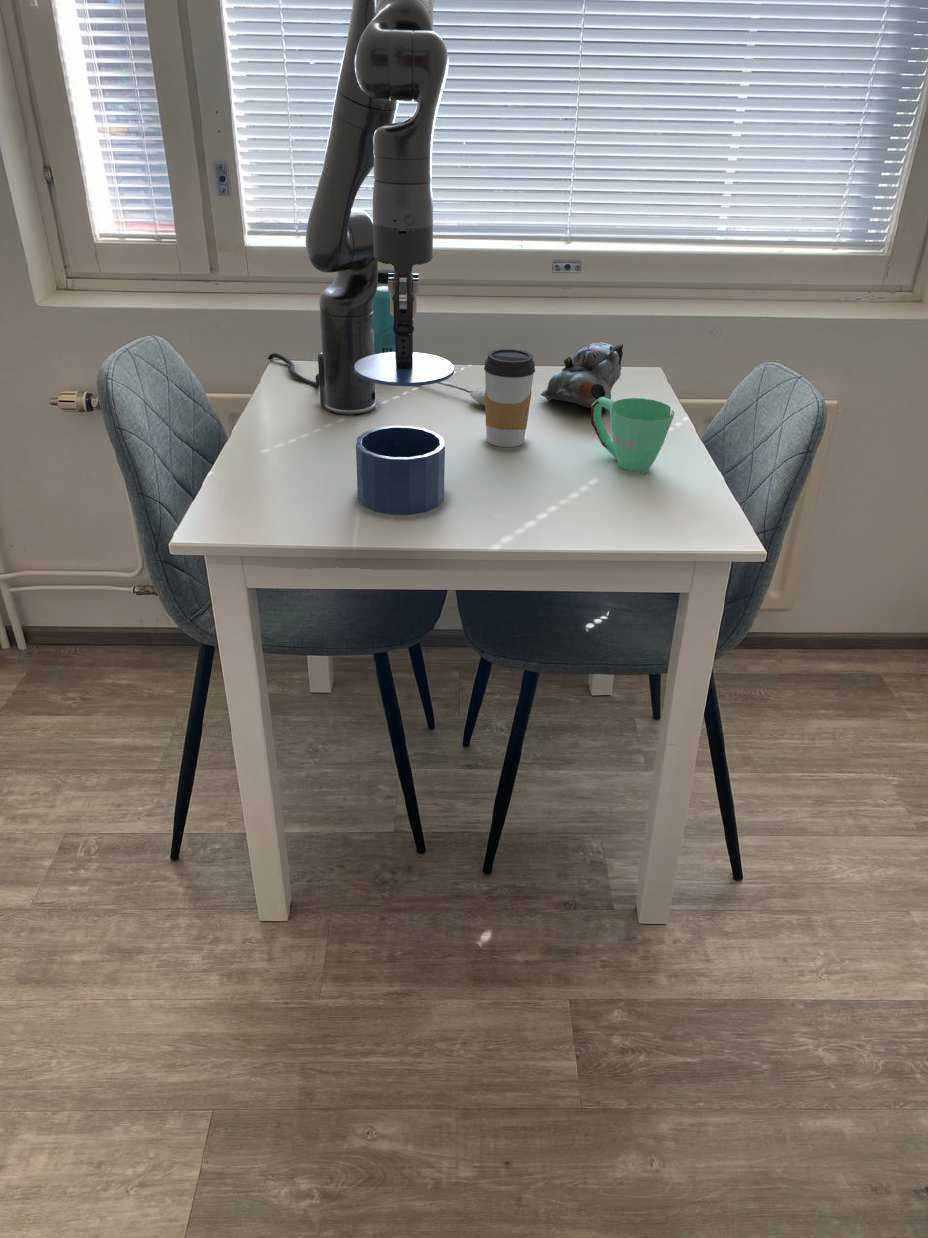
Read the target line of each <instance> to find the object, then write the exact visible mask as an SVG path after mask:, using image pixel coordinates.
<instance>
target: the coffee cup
mask: <svg viewBox="0 0 928 1238" xmlns="http://www.w3.org/2000/svg"><path fill="white" fill-rule="evenodd" d="M483 371H484V373H485V374H484V375H485V376H484V377H485V378H484V379H485V381H484V383H485V387H484V388H485V406H484V408H485V410H484V411H485V429H486V430H485V433H486V435H485V436H486V442H488V443H489V444H490V445H492V446H495V447H500V448H514V447H519V446H522V445H523V444H524V442H525V436H526V430H527V427H528V421H529V420H528V419H529V413H530V406H531V400H532V399H531V398H532V388H533V380H534V374H535V373H536V363H535V360H534V355H533V354H532V353H531V352H529V351H526V350H522V349H518V348H517V349H516V348H499V349H498V348H497V349H493V350H491V351H489V352H488V353H487V358H486V359H485V361H484V367H483Z"/></svg>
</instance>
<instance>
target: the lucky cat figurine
mask: <svg viewBox="0 0 928 1238" xmlns="http://www.w3.org/2000/svg"><path fill="white" fill-rule="evenodd" d="M623 349H624V344H623V343H621V344H617V345H616V346H613V345H612V344H610V343H605V342H591V344H589V345H587V346H584V347H582V348H581V349H579V350H578V351H577V352H576V354H575V355H574V356H573V357H571V356H566V358H565V359H564V360H563V364H564V368H562V369H561V370H560V371H557V372H555V373H553V375H552V377H550V379H549V380H548V384H547V388H546V389H545V390H543V391H541V393H540V396H542V397H543V398H545V399H546V400H547V401H550V400H556V401H563V402H568V403H572V404H575V405H579V406H581V407H584V408H588V409H591V405H592V404H593V403H594V402H595V401H596V400H598V399H599V398H601V397H605V398H608V399H611V400H612V390H613V387H614V385H615V384H616V383H617V381H618V380H619V379H620V378H621V375H622V372H621V371H622V366H623V365H622V359H623V355H624V352H623ZM608 411H609V410H608V409H606V408H605V407H602V412H601V415H603V414H606V413H607V412H608Z"/></svg>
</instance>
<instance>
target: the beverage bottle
mask: <svg viewBox="0 0 928 1238" xmlns="http://www.w3.org/2000/svg"><path fill="white" fill-rule="evenodd" d="M388 273H394V269H391V268H380V269H379V268H378V278H377V284H382V285H383V286H377V293H376V296H375V299H374V302H373V322H374V354H380V353H387V352H395V334H394V331H393V326H394V316H392V315H391V313H390V293H389V291H388ZM384 285H385V286H384ZM386 285H387V286H386ZM394 293H395V289H394Z"/></svg>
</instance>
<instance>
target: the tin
mask: <svg viewBox="0 0 928 1238" xmlns="http://www.w3.org/2000/svg"><path fill="white" fill-rule="evenodd" d="M355 457H356V485H357V486H356V487H357V500H358V504H359V506H361V505H362V506H363V507H364V508H367V509H368V510H370V511H373V512H375V513H381V514H385V515H390V516H411V515H412V516H413V515H417V514H422V513H427V512H429V511H432V510H434V509H437V508H439V506H440V505H441V504H442V503H443V502H444V500H445V472H446V471H445V469H446V468H445V467H446V466H445V465H446V463H445V462H446V442H445V438H444V437H442V435H440V434H439V433H438V432H436V431H433V430H430V429H427V428H424V427H417V426H412V425H387V426H383V427H376V428H373V429H370V430H366V431H364V432H363V433H362V434H360V435H358V437H357V438H356V441H355Z"/></svg>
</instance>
